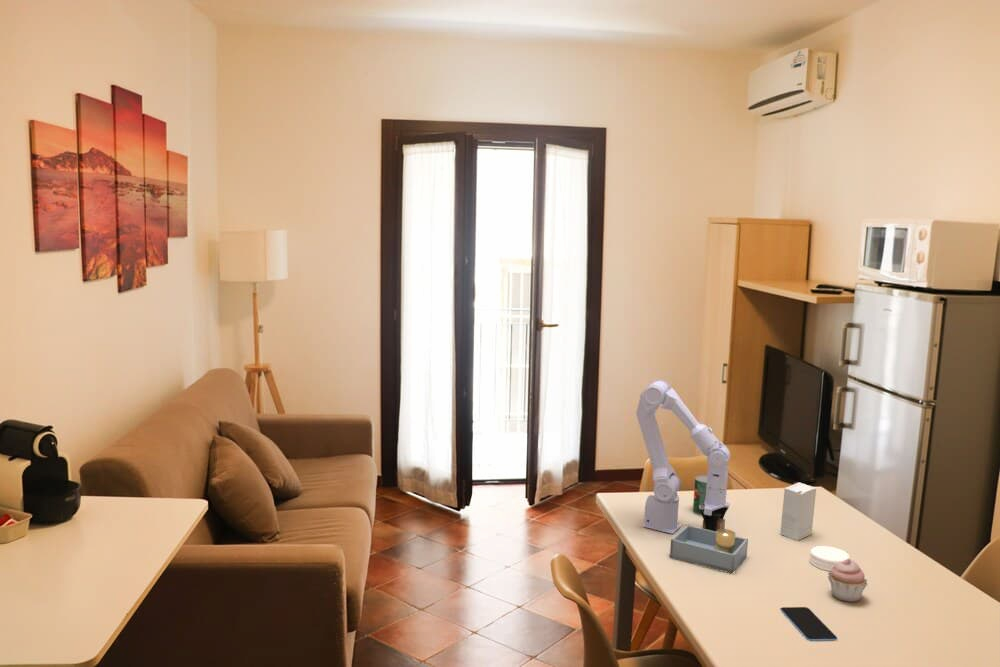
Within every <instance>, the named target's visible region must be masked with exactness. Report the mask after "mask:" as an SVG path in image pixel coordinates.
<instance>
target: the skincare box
mask: <svg viewBox="0 0 1000 667" xmlns="http://www.w3.org/2000/svg"><path fill="white" fill-rule="evenodd" d="M816 495H817V487H815V486H812V485H807V484H806V483H802V482H799V481H798V482H796V483H793V484H792V485H789V486H786V487H785V488H784V493H783V503H782V514H781V523H780V535H781V536H783V535H784V537H787V538H789V539H792V540H794V541H796V542H797V541H799V540H802V539H804V538H806V537H808V536H811V535H812V534H813V523H814V514H815V505H816Z"/></svg>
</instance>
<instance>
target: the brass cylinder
mask: <svg viewBox="0 0 1000 667" xmlns="http://www.w3.org/2000/svg"><path fill="white" fill-rule="evenodd" d="M735 536H736V532H735V531H733V530H730V529H727V528H724V529H718V530H716V539H715V550H718V551H722V552H726V553H730V554H733V553H734V543H735Z"/></svg>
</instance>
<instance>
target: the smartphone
mask: <svg viewBox="0 0 1000 667" xmlns="http://www.w3.org/2000/svg"><path fill="white" fill-rule="evenodd" d="M779 610H781V611H780V612H781V613H782V614H783V615H784V616H785V617H786V618H787V620H788V619H789V620H788V621H789V622H790V623H791V624H792V625H793V627H795V629H796V630H797V631H798V633H799V634H800V635H801V634H802V635H801V636H803V637H805V638H804V639H805V640H806V639H807V640H806V641H808V640H809V642H835V641H834V640H837V639H839V638H838V637H837V636H836V634H835V633H834V632H833V631H832V630H831V629H829V627H828V626H827V625H826V624H825V623H824V622H823V621H822V620H821V619H820V618H819V617H818V616H817V615H816V614H815V613H814V612H813V611H812V610H811V609H810V608H809V607H806V606H797V607H796V606H793V607H791V606H787V607H780V609H779ZM837 641H838V640H837Z"/></svg>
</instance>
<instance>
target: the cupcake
mask: <svg viewBox="0 0 1000 667" xmlns="http://www.w3.org/2000/svg"><path fill="white" fill-rule="evenodd" d="M827 579H828V581H829V582H830V587H831V593H832V595H833V597H834V598H836V599H838V600H839V601H843V602H849V603H855V602H858V601H860V599H861V597H862V594H863V592H864V590H865V589H866V588H867V586H868V584H869V583H868V579H867V578H865V573H864V571H863V570H862V569H861V567H860V566H859V564H858V563H857V562H856V561H854V560H852V558H850V559H846V560H845V561H844V562H838V563H836V564H835V566H834V567H833V568H832V569H831V572H830V571H828V572H827Z"/></svg>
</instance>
